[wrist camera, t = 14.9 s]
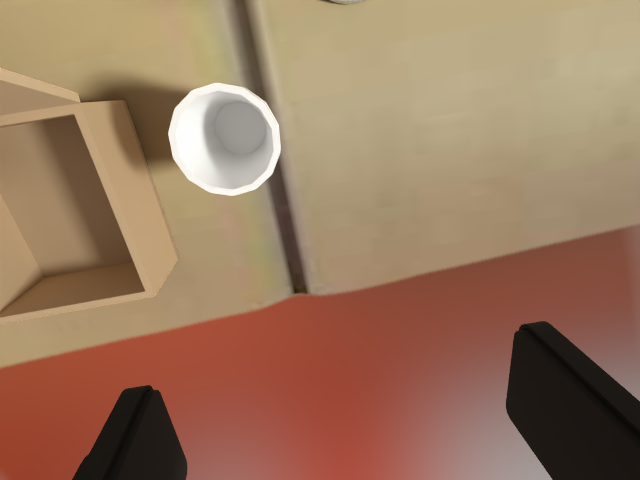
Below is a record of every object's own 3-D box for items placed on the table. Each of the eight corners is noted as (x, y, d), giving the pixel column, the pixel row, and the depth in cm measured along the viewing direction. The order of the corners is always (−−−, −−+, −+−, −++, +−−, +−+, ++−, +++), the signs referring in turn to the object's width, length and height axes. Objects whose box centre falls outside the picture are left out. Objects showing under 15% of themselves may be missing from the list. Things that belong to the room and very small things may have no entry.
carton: (-39, 126, 40) (-135, 137, 31) (125, 99, 40) (79, 102, 31) (43, 281, 48) (-14, 326, 39) (179, 257, 48) (155, 296, 39)
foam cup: (295, 119, 43) (301, 130, 31) (254, 181, 45) (245, 214, 33) (226, 67, 40) (202, 57, 28) (185, 137, 43) (148, 155, 31)
